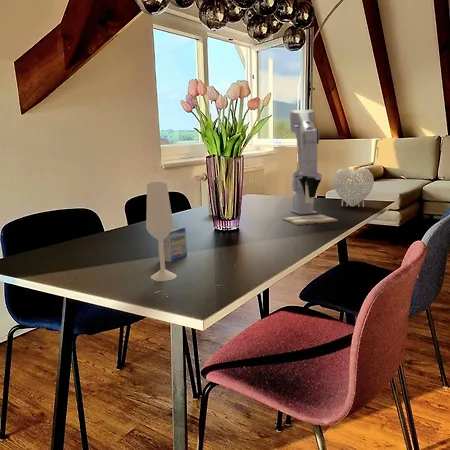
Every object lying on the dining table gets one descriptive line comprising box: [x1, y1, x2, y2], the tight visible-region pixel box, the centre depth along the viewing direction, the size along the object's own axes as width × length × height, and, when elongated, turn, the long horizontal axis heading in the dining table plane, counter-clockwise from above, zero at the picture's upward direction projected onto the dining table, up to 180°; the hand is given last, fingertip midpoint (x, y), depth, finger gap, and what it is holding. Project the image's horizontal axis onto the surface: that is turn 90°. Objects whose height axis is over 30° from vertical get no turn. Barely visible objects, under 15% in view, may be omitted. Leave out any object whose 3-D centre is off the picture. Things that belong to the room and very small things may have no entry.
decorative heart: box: [333, 167, 375, 208], centre depth 203 cm, size 18×11×17 cm, turn 54°
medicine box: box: [157, 226, 188, 263], centre depth 131 cm, size 8×4×9 cm, turn 148°
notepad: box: [282, 213, 339, 226], centre depth 177 cm, size 13×17×1 cm
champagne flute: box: [145, 181, 177, 282], centre depth 112 cm, size 7×7×24 cm
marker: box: [305, 182, 315, 204], centre depth 175 cm, size 3×3×8 cm
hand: (309, 196), depth 176 cm, fingers closed on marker, 3 cm apart
